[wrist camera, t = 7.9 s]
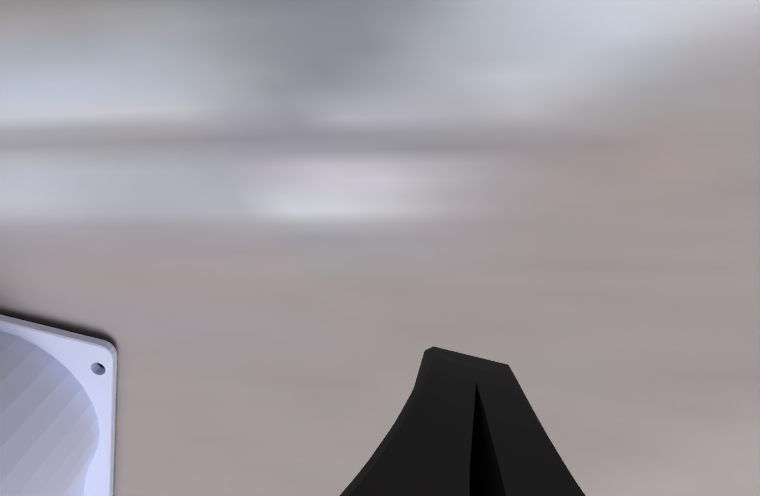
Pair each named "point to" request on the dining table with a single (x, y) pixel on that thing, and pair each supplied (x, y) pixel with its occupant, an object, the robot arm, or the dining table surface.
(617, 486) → the dining table surface
